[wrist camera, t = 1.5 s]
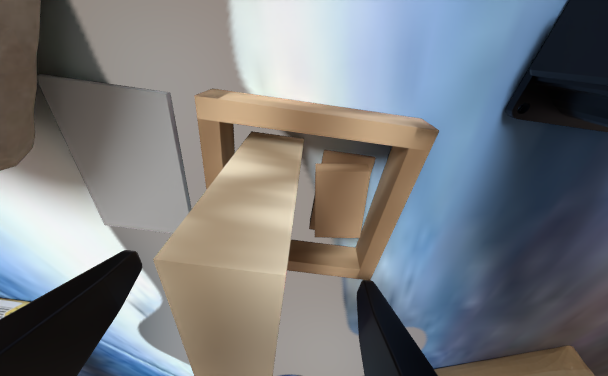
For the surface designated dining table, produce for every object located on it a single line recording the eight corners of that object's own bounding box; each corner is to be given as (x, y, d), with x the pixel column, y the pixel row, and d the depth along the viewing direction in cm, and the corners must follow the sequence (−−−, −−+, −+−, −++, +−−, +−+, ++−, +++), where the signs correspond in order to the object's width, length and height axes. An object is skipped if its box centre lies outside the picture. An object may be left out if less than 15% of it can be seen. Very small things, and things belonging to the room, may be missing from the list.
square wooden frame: (421, 118, 12) (439, 130, 10) (364, 258, 18) (369, 280, 16) (212, 88, 11) (194, 95, 10) (225, 240, 17) (215, 261, 16)
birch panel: (304, 138, 13) (286, 275, 5) (292, 229, 16) (271, 386, 9) (251, 131, 13) (153, 259, 5) (251, 224, 16) (195, 378, 9)
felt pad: (170, 92, 12) (165, 93, 11) (195, 232, 17) (193, 236, 17) (42, 74, 11) (34, 75, 11) (108, 221, 17) (104, 225, 16)
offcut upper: (367, 163, 13) (370, 172, 12) (357, 227, 16) (359, 237, 15) (315, 163, 13) (315, 171, 12) (314, 226, 16) (314, 237, 15)
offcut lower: (372, 152, 14) (375, 158, 13) (349, 225, 17) (350, 234, 16) (323, 144, 14) (324, 151, 13) (309, 219, 17) (309, 228, 16)
